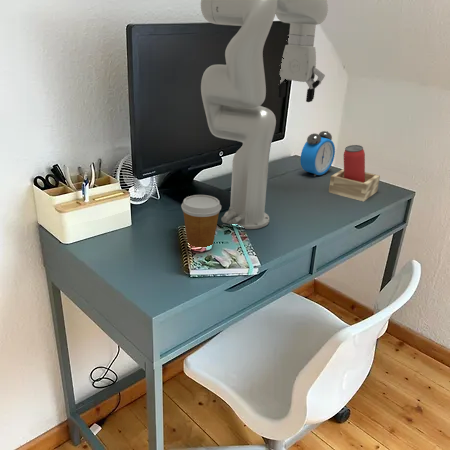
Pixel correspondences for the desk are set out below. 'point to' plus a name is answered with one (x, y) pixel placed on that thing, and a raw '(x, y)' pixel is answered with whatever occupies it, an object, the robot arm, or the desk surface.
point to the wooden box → (354, 186)
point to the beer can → (354, 163)
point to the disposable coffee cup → (200, 219)
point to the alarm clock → (318, 153)
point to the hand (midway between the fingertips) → (295, 99)
